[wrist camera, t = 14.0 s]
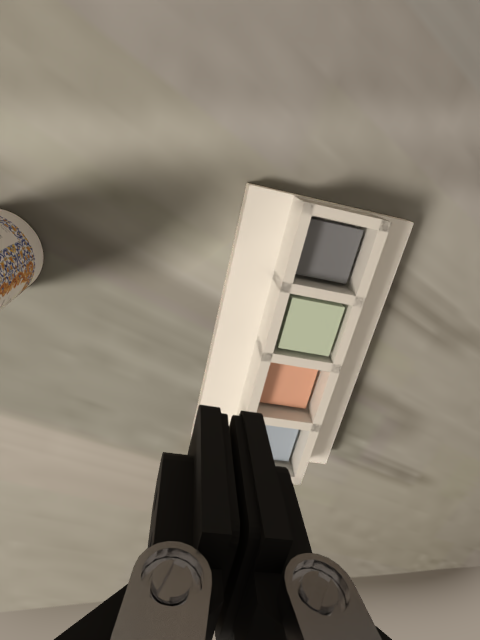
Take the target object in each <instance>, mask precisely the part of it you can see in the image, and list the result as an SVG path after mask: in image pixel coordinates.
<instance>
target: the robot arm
mask: <svg viewBox="0 0 480 640" xmlns="http://www.w3.org/2000/svg"><path fill="white" fill-rule="evenodd" d="M214 631H215V637H216V640H392V639H391V638H389V637H388V636H387V635H386V634H385V633H383V632H382V631H381V630H380V629H379V628H377V627H376V626H375V625H374V623H373V621H372V619H371V617H370V615H369V613H368V611H367V609H366V607H365V605H364V603H363V601H362V599H361V597H360V595H359V593H358V591H357V589H356V587H355V585H354V583H353V582H352V580H351V578H350V577H349V575H348V574H347V573H346V572H345V571H344V570H343V569H342V568H341V567H340V566H339V565H338V564H337V563H335V562H334V561H332V560H331V559H329V558H327V557H325V556H322V555H319V554H314V553H312V550H311V547H310V543H309V540H308V536H307V533H306V529H305V526H304V522H303V518H302V515H301V511H300V508H299V504H298V501H297V497H296V494H295V490H294V487H293V483H292V480H291V476H290V473H289V470H288V469H287V468H286V467H282V466H275V463H274V459H273V455H272V450H271V446H270V442H269V438H268V434H267V430H266V426H265V422H264V418H263V415H262V413H256V412H249V411H241V412H240V414H239V416H238V415H233V416H232V418H231V421H230V425H229V422H228V415H227V414H224V413H221V409H220V407H214V406H207V405H199V407H198V411H197V415H196V420H195V424H194V429H193V433H192V437H191V442H190V446H189V451H188V455H182V454H174V453H166V452H163V454H162V458H161V463H160V468H159V473H158V478H157V483H156V489H155V495H154V502H153V509H152V517H151V525H150V533H149V541H148V548H147V549H146V550H145V551H144V552H143V553H142V554H141V555H140V556H139V557H138V559H137V561H136V563H135V565H134V567H133V570H132V573H131V577H130V580H129V583H128V584H127V585H126V586H124V587H123V588H122V589H120V590H119V591H118V592H116V593H115V594H114V595H112V596H111V597H110V598H108V599H107V600H106V601H104V602H103V603H102V604H100V605H99V606H98V607H97V608H95V609H94V610H92V611H91V612H90V613H89V614H87V615H86V616H85V617H83V618H82V619H81V620H79V621H78V622H77V623H75V624H74V625H72V626H71V627H70V628H68V629H67V630H66V631H64V632H63V633H62V634H61V635H59V636H58V637H57V638H55V639H54V640H212V638H213V634H214Z"/></svg>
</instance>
